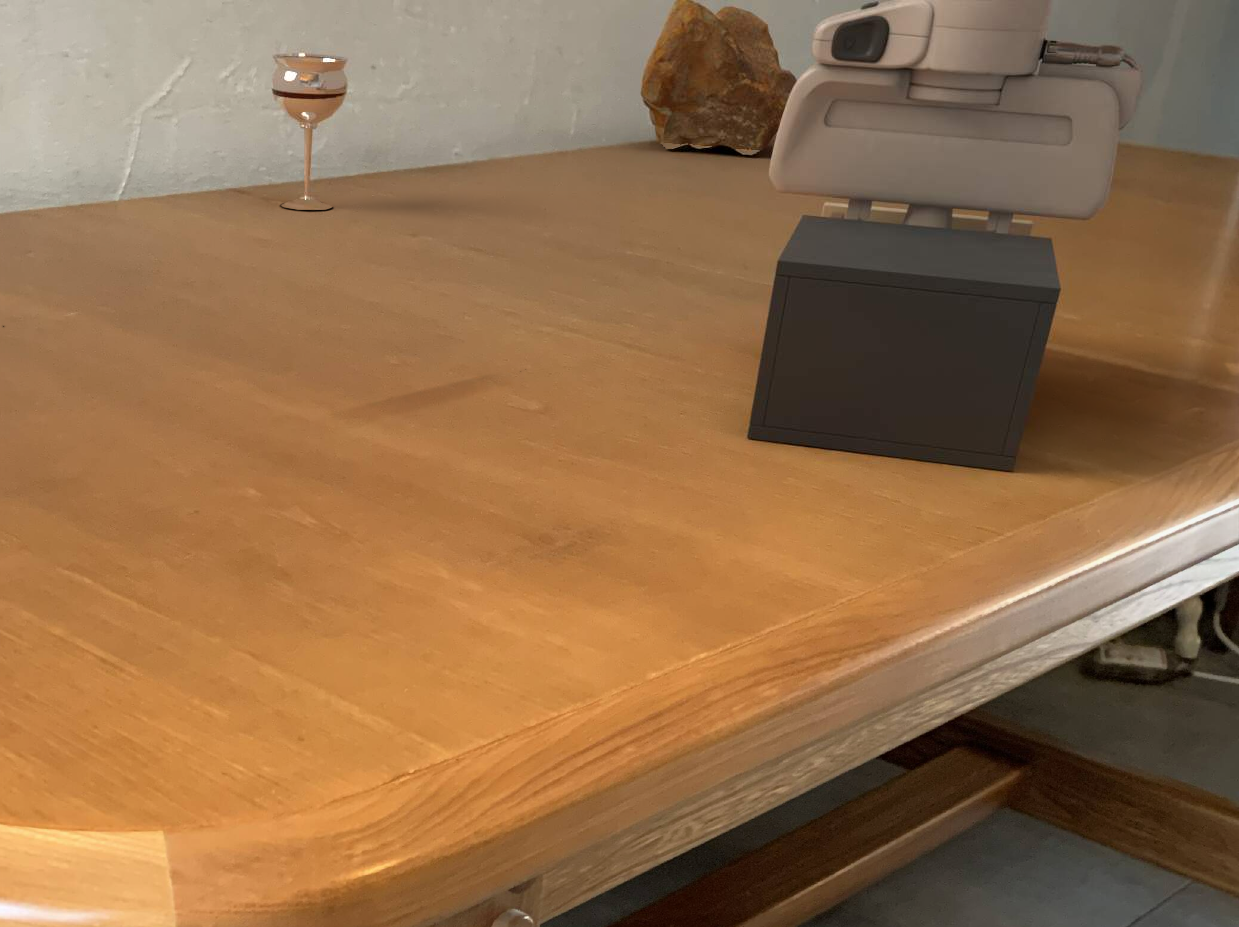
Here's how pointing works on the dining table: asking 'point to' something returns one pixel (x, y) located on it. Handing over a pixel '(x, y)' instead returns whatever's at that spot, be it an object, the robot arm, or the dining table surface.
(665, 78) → the rough brown rock
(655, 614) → the dining table surface
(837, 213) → the drawer
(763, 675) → the dining table surface
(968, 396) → the cabinet
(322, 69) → the wineglass
